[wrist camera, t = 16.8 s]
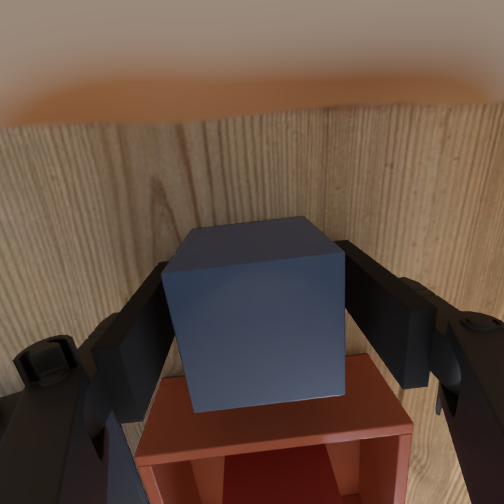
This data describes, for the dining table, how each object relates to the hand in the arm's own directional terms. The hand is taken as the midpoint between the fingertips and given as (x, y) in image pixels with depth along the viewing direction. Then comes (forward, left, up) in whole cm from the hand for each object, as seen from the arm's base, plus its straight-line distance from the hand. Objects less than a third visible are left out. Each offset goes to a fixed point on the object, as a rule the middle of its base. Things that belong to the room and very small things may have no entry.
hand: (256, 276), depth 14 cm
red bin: (+12, 0, 0) cm, 12 cm away
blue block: (0, 0, 0) cm, 0 cm away
